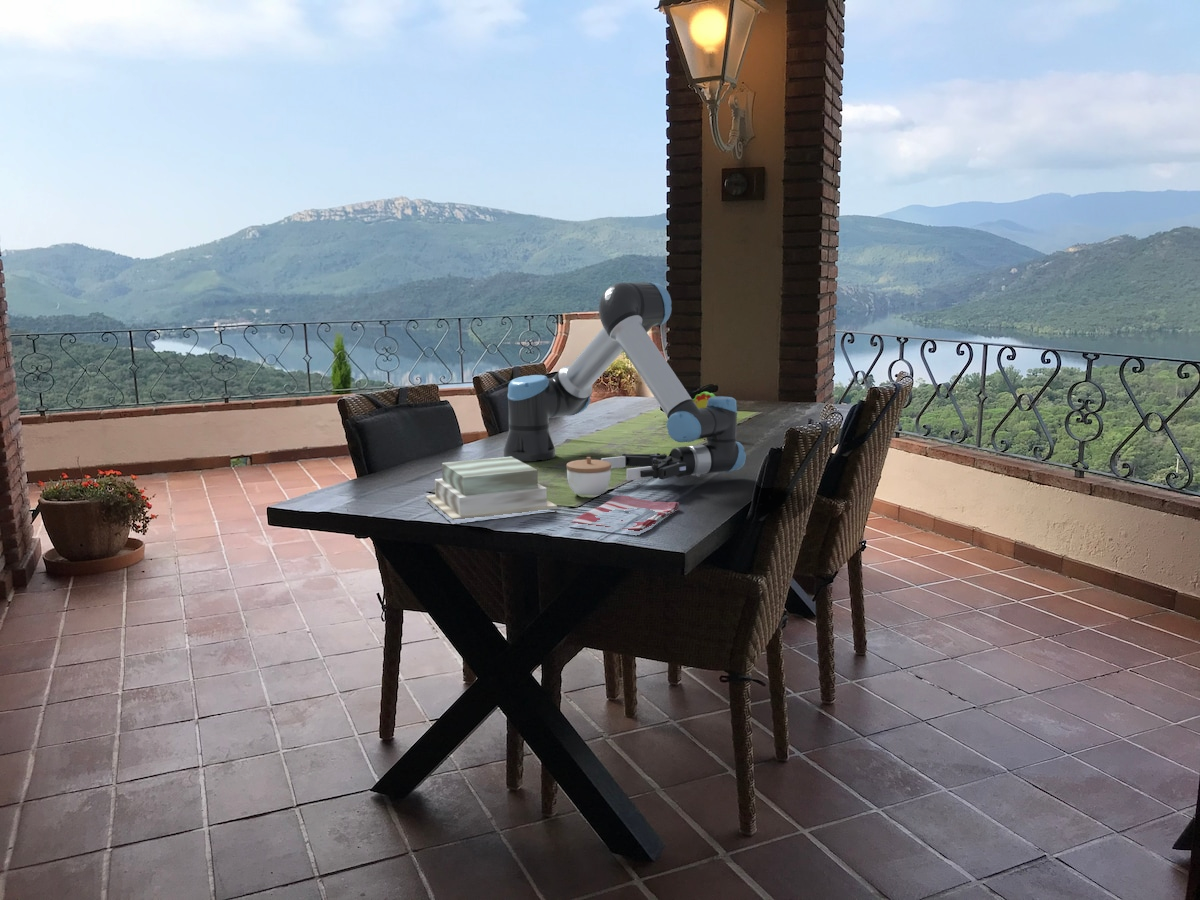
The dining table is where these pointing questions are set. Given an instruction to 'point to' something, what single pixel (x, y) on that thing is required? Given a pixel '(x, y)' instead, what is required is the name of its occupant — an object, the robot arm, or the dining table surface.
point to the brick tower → (488, 488)
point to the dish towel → (629, 502)
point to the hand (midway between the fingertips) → (613, 469)
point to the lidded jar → (588, 476)
